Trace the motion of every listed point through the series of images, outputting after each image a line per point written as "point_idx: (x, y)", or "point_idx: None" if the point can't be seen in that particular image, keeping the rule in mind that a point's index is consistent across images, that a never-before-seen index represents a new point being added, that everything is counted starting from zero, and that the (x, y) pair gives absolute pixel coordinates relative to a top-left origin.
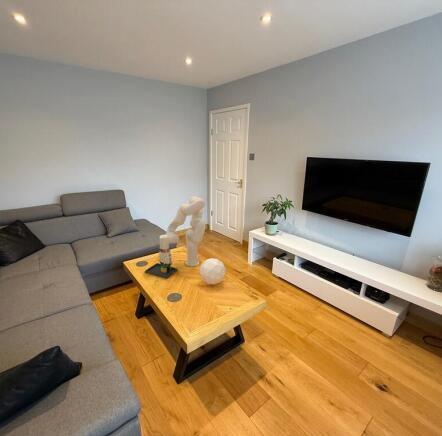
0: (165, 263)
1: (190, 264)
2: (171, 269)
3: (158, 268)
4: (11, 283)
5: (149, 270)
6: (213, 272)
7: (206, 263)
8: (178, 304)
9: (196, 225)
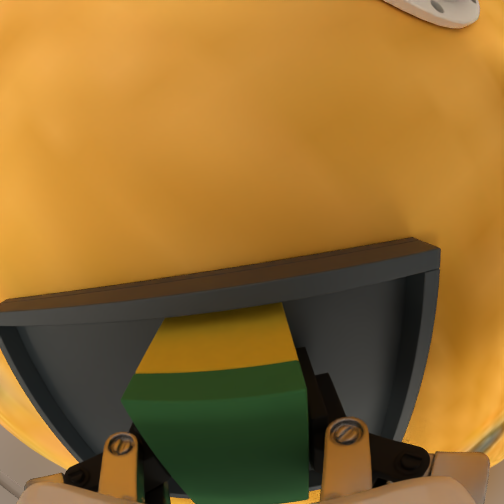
0: (163, 439)
1: (444, 3)
2: (309, 299)
3: (98, 385)
4: (18, 497)
5: (90, 444)
6: None
7: None
8: (496, 446)
9: None
